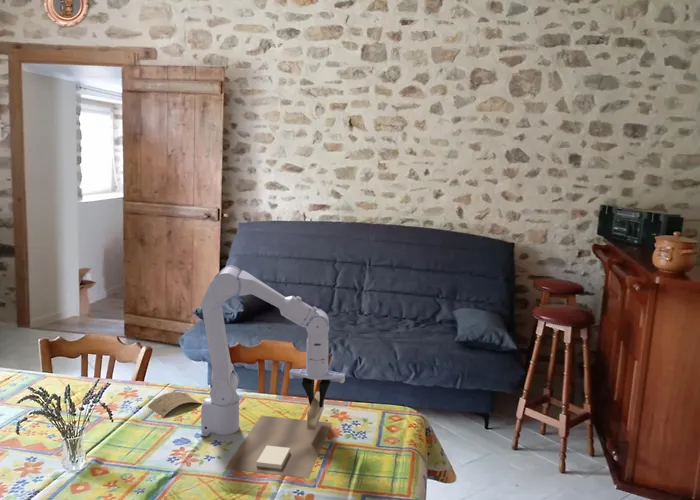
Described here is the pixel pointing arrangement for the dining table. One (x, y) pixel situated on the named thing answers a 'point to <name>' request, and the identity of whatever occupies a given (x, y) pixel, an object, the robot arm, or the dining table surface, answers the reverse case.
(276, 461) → the tile
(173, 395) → the brown curved sheet
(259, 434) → the board
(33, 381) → the dining table surface
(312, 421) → the beige long rectangular bar
